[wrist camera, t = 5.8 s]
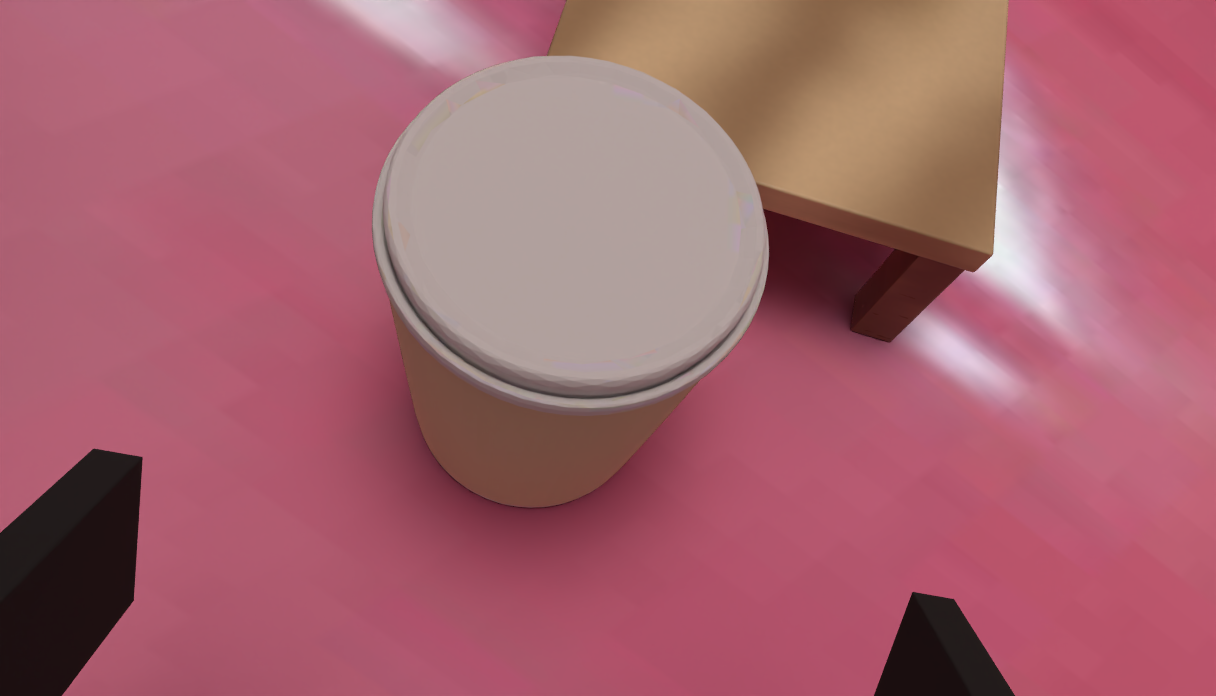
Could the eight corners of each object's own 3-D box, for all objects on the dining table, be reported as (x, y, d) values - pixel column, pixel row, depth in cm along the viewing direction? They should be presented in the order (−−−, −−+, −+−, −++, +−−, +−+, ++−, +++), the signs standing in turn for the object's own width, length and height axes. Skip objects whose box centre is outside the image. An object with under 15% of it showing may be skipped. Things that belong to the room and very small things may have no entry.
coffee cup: (716, 449, 33) (857, 283, 22) (477, 590, 30) (505, 475, 19) (575, 238, 35) (640, -2, 25) (339, 346, 32) (295, 123, 21)
